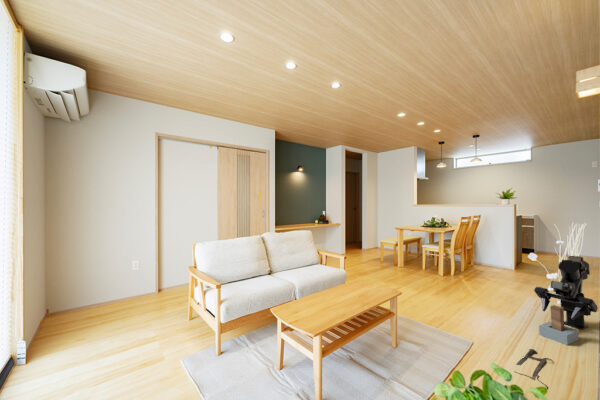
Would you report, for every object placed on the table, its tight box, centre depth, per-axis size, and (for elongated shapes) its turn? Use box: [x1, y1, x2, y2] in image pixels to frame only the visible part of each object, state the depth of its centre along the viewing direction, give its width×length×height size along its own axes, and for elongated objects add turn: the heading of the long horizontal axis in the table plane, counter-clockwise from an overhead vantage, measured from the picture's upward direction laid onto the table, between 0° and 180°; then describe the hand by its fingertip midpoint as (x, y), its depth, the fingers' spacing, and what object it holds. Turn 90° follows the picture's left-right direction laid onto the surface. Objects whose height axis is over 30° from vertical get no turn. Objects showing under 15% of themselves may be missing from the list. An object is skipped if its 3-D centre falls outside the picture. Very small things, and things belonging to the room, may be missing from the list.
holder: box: [538, 321, 579, 346], centre depth 108 cm, size 9×9×4 cm
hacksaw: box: [514, 348, 554, 390], centre depth 89 cm, size 24×10×2 cm, turn 122°
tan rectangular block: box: [550, 304, 565, 332], centre depth 108 cm, size 3×3×13 cm
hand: (557, 314), depth 108 cm, fingers open, 9 cm apart
